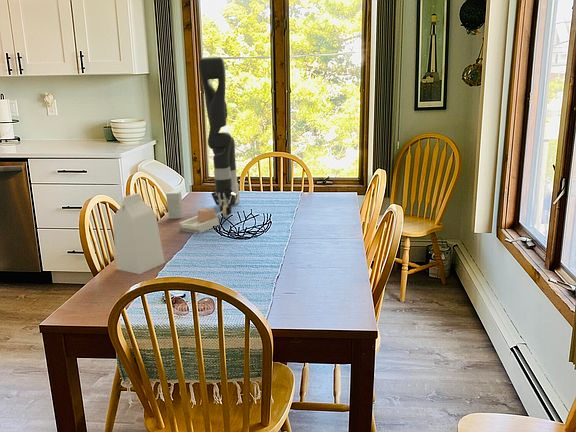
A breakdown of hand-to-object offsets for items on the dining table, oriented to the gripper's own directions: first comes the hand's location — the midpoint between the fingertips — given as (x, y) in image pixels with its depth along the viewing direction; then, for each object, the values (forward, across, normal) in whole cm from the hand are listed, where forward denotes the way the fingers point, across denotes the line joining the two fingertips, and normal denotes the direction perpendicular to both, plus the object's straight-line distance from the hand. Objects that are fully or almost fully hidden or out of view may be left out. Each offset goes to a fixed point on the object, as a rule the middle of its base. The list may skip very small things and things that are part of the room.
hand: (225, 214), depth 257 cm
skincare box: (+1, +22, +9) cm, 24 cm away
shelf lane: (+1, 0, +18) cm, 18 cm away
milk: (+2, -11, +63) cm, 64 cm away
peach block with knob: (0, 0, +7) cm, 7 cm away
